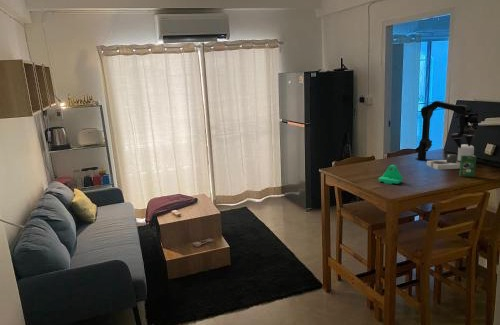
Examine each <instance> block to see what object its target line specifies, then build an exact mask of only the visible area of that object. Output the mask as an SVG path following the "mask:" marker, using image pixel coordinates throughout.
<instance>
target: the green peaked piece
mask: <svg viewBox="0 0 500 325" xmlns="http://www.w3.org/2000/svg"><path fill="white" fill-rule="evenodd" d="M382 174H383V175H382V176H379V177H378V182H383V184H388V185H393V184H397V185H398V184H400V183H402V182H403V180H404V179H403V178H404V177H403V176H402V174H401V172H400V171H399V169H398V167H397V165H395V164H391V165H388V167H387V169H386V170H385V171H384V173H382Z"/></svg>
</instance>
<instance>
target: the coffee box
mask: <svg viewBox="0 0 500 325" xmlns="http://www.w3.org/2000/svg"><path fill="white" fill-rule="evenodd" d="M459 162H460V169H459V173H458V176H459V177H462V178H463V177H464V178H465V177H466V178H467V177H468V178H469V177H470V178H471V177H472V178H473V177H475V172H476V164H477V156H476V155H474V156H466V155H461V161H459Z"/></svg>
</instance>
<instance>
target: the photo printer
mask: <svg viewBox="0 0 500 325" xmlns="http://www.w3.org/2000/svg"><path fill="white" fill-rule="evenodd" d="M457 147H458V146H457ZM474 154H475V147H474V146H473V145H472V144H471V145H470V146H468V144H461V148H459V147H458V148H457V162H461V155H466V156H475V155H474Z"/></svg>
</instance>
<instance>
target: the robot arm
mask: <svg viewBox="0 0 500 325" xmlns="http://www.w3.org/2000/svg"><path fill="white" fill-rule="evenodd" d="M438 108H441V109H443V110H448V111H452V112H454V113H456V115H455V117H454V118H455V119H457V118H458V126H457V128H458V131H457V132H454V133H452V134H450V139H452V140H454V142H455V144H456V145H457V147H459V148H461V145H462V140H463V139H464V137H465V140H466V143H467V145H468V146H470V145H472V141H473V139H474V138H475V137H476V136H477V135H478V133H479V131H480V129H479V127H478V126H475V127H471V125H473V124H481V123H482V120H483V118H482V115H481V114H480V112H476V113H473V111H472V110H471V109H470V106H469V105H467V104H453V103H448V102H444V101H440V100H434V101H433V102H432V103H430V104H428V105H426V106H423V107H422V108H421V109H420V114H421V117H422V126H421V127H422V128H421V129H422V131H421V139H420V140H419V143H418V147H416V148H415V152H416V153H417V156H416V157H415V160H417V161H420V162H421V161H429V159H428V158H427V152H428V151H429V150H430V149H431V148H432V146H433V144H432V143H433V140H430V130H431V129H430V127H431V117H433V113H434V111H436V110H437V109H438Z"/></svg>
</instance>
